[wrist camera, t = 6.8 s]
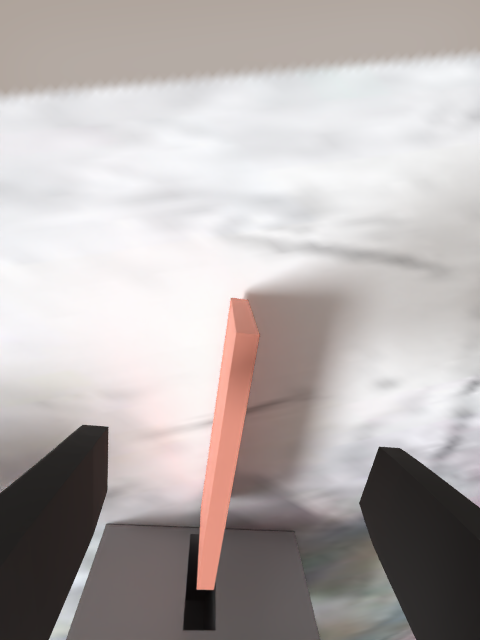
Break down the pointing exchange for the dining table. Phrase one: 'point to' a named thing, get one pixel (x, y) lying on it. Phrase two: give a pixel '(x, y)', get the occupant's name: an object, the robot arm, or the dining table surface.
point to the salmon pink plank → (226, 435)
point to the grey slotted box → (194, 588)
